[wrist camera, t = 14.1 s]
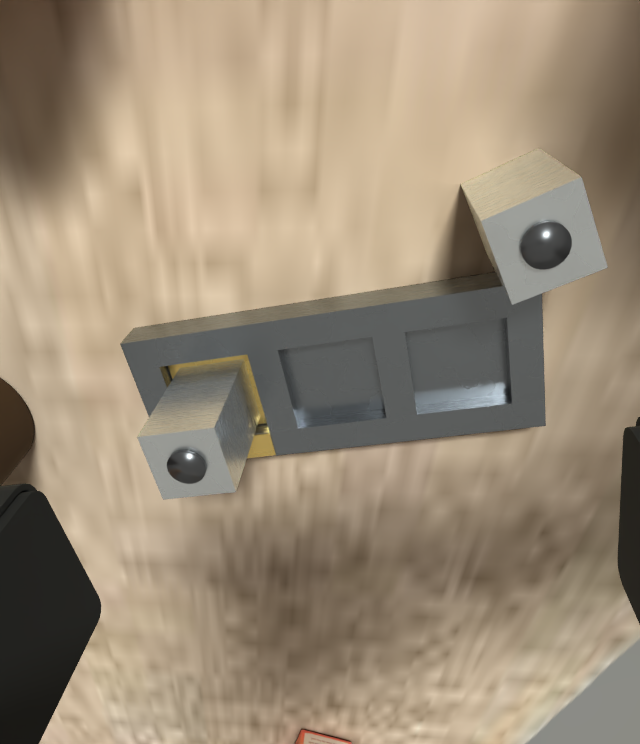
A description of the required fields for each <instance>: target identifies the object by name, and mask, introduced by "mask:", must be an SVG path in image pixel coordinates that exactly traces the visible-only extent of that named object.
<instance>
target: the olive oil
mask: <svg viewBox="0 0 640 744" xmlns="http://www.w3.org/2000/svg"><path fill="white" fill-rule="evenodd" d="M33 437H34V425H33V420H32V417H31V414H30V412H29V410H28V408H27V406H26V404H25V403H24V401H23V400H22V398H21V397H20V396H19V394H18V393H17V392H16V391H15V390H14V389H13V388H12V387H11V386H10V385H9V384H7V383H6V382H5V381H4V380H2V379H1V378H0V486H1V485H2V483H3V482H4V481H5V480H6V478H7V477H8V476H9V475H10V473H11V472H12V471H13V470H14V468H15V467H16V466H17V465H18V463H19V462H20V461H21V460H22V458H23V457H24V456H25V455H26V453H27V452H28V450H29V448H30V446H31V444H32V441H33Z"/></svg>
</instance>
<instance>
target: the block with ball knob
mask: <svg viewBox="0 0 640 744" xmlns="http://www.w3.org/2000/svg"><path fill="white" fill-rule="evenodd" d="M461 187H462V190H463V192H464V195H465V197H466V200H467V203H468V205H469V208H470V211H471V213H472V216H473V219H474V221H475V224H476V227H477V229H478V232H479V235H480V237H481V240H482V243H483V245H484V248H485V251H486V253H487V255H488V257H489V259H490V261H491V263H492V265H493V267H494V269H495V271H496V273H497V275H498V277H499V280H500V282H501V284H502V286H503V288H504V290H505V292H506V294H507V296H508V298H509V300H510V302H511V304H512V305H513V304H516V303H518V302H521V301H523V300H526V299H529V298H531V297H534V296H536V295H539V294H541V293H544V292H547V291H549V290H552V289H554V288H557V287H559V286H562V285H565V284H567V283H570V282H572V281H575V280H577V279H580V278H583V277H585V276H588V275H590V274H593V273H595V272H598V271H601V270H603V269H606V268H608V267H607V263H606V260H605V256H604V253H603V249H602V246H601V242H600V239H599V235H598V232H597V228H596V225H595V221H594V218H593V215H592V211H591V208H590V204H589V201H588V197H587V194H586V190H585V187H584V183H583V180H582V177H581V176H580V175H578V174H577V173H575V172H574V171H572V170H571V169H569V168H568V167H566V166H565V165H563V164H562V163H560V162H559V161H557V160H556V159H555V158H553V157H552V156H550V155H549V154H547V153H546V152H544V151H543V150H541V149H540V148H538V149H536V150H534V151H531V152H529V153H527V154H525V155H523V156H520V157H518V158H516V159H514V160H512V161H510V162H507V163H505V164H503V165H501V166H499V167H496V168H494V169H492V170H490V171H488V172H486V173H483V174H481V175H479V176H477V177H475V178H473V179H470V180H468V181H466V182H464V183H462V184H461Z"/></svg>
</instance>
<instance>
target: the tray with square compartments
mask: <svg viewBox="0 0 640 744" xmlns="http://www.w3.org/2000/svg"><path fill="white" fill-rule="evenodd" d="M121 347H122V350H123V352H124V355H125V357H126V360H127V362H128V365H129V367H130V370H131V372H132V375H133V377H134V380H135V382H136V385H137V388H138V390H139V393H140V395H141V398H142V400H143V403H144V405H145V408H146V410H147V413H148V415H149V417H150V415H151V414H152V412H153V411H154V409H155V407H156V406H157V404H158V402H159V401H160V399H161V398H162V396H163V394H164V393H165V391H166V389H167V388H168V386H169V384H170V383H171V381H172V380H173V378H174V376H175V375H176V373H177V371H178V370H179V368H183V367H190V366H197V365H204V364H211V363H219V362H226V361H233V360H240V359H244V361H245V365H246V368H247V372H248V375H249V379H250V382H251V385H252V389H253V392H254V396H255V399H256V402H257V406H258V409H259V413H260V419H259V422H258V425H257V428H256V431H255V434H254V438H253V441H252V444H251V447H250V450H249V453H248V456H247V459H249V458H258V457H267V456H276V455H285V454H294V453H303V452H312V451H322V450H331V449H340V448H349V447H358V446H367V445H376V444H385V443H394V442H403V441H412V440H421V439H430V438H439V437H448V436H458V435H467V434H476V433H485V432H494V431H503V430H512V429H521V428H530V427H539V426H546V423H545V387H544V351H543V316H542V293H541V294H539V295H536V296H534V297H531V298H529V299H526V300H523V301H521V302H518V303H516V304H513V305H512V304H511V302H510V300H509V298H508V296H507V294H506V292H505V290H504V288H503V286H502V284H501V282H500V280H499V277H498V275H497V273H496V272H494V273H487V274H481V275H474V276H468V277H461V278H455V279H448V280H442V281H435V282H429V283H423V284H416V285H410V286H403V287H397V288H390V289H384V290H377V291H371V292H364V293H358V294H351V295H345V296H339V297H332V298H326V299H319V300H313V301H306V302H300V303H293V304H287V305H280V306H274V307H268V308H261V309H255V310H248V311H242V312H235V313H229V314H222V315H216V316H209V317H203V318H197V319H190V320H184V321H177V322H171V323H164V324H158V325H151V326H145V327H138V328H134V329H133V330H132V331H131V332H130V333H129V334H128V335H127V337H126V338H125V339H124V340H123V341H122V342H121Z"/></svg>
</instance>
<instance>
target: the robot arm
mask: <svg viewBox="0 0 640 744" xmlns="http://www.w3.org/2000/svg"><path fill="white" fill-rule="evenodd" d="M618 569H619V574H620V578H621V582H622V585H623V587H624V590H625V592H626V594H627V596H628V599H629V601H630V603H631V605H632V608H633V610H634V612H635V614H636V617H637V619H638V621H639V623H640V417H638V419H637V422H636V426H635V427H627V428H625V430H624V435H623V454H622V476H621V498H620V520H619V542H618ZM100 613H101V602H100V599H99V596H98V594H97V592H96V591H95V589H94V587H93V585H92V583H91V581H90V579H89V577H88V575H87V574H86V572H85V570H84V568H83V566H82V564H81V562H80V560H79V558H78V557H77V555H76V553H75V551H74V549H73V547H72V545H71V543H70V541H69V540H68V538H67V536H66V534H65V532H64V530H63V528H62V526H61V524H60V523H59V521H58V519H57V517H56V515H55V513H54V511H53V509H52V507H51V506H50V504H49V502H48V500H47V498H46V496H45V495H44V494H43V493H42V492H40V491H37V490H36V488H35V487H33V486H32V485H30V484H16V485H7V486H0V744H39V742H40V740H41V738H42V736H43V734H44V732H45V730H46V728H47V726H48V724H49V721H50V719H51V717H52V715H53V713H54V711H55V709H56V707H57V705H58V703H59V701H60V699H61V697H62V695H63V693H64V691H65V689H66V687H67V684H68V682H69V680H70V678H71V676H72V674H73V672H74V670H75V668H76V666H77V664H78V662H79V660H80V658H81V656H82V654H83V652H84V650H85V647H86V645H87V643H88V641H89V639H90V637H91V635H92V633H93V631H94V629H95V627H96V625H97V623H98V620H99V618H100Z"/></svg>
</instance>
